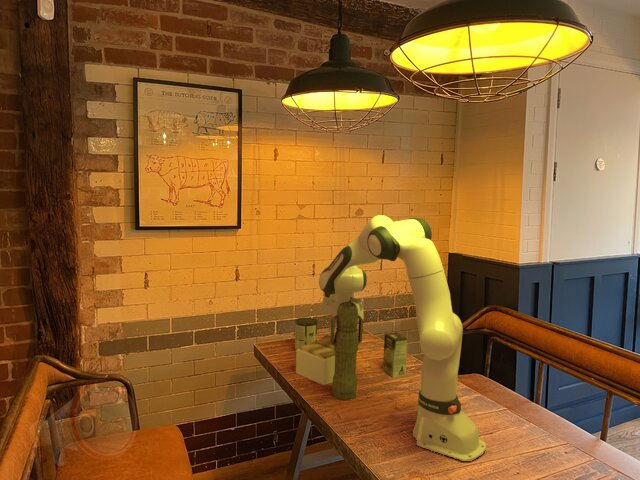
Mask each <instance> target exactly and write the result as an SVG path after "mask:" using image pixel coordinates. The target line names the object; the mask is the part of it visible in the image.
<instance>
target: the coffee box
mask: <svg viewBox="0 0 640 480" xmlns="http://www.w3.org/2000/svg"><path fill="white" fill-rule="evenodd" d="M383 342H384V343H383V362H382V370H383V371H384V372H385V373H387V374H388V376H391V378H394V379H395V378H399V377H405V376H406V374H407V361H408V360H407V358H408V357H407V356H408V342H409V339H408V338H407V337H405V336H404V335H402V334H401V333H400V332H398V331H396V332H388V333H387V332H385V333H384V341H383Z"/></svg>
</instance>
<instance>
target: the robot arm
mask: <svg viewBox="0 0 640 480" xmlns="http://www.w3.org/2000/svg"><path fill="white" fill-rule="evenodd" d="M432 235H433V234H432V229H431V226H430V225H429V222H427V221H426V220H425V219H424V218H421V217H410V218H407V219H403V220H396V221H393V220H392V219H391V218H390V217H388V216H386V215H384V214H383V215H382V214H378V215H375V216H373V217H372V218H371V219H370V220H369V221H367V223H366V225H364V227H363V229H362V230H361V232H360V234H359V235H358V236H357V238H356V239H354V240H353V241H352V242H351V243H350V244H348V245H346V246H345V247H343V248H342V249H341V250H340V251H339V252H338V254H337V255H336V256H335V258H334V259H333V260H332V261H331V262H330V264H329V265H328V267H326V268H324V269H323V270H322V272H320V274H319V278H318V284H319V288H320V290H321V291H322V292H323V293H322V296H323V298H322V301H321V302H322V308H321V310H322V312H323V314H327V315H331V316H333V317H334V316H335V315H337V310H338V307H339V304H341V303H343V302H351V303H354V304H355V305H356V307H357V311H358V315H359V316H360V317H361V318H362V319H363V320H364V319H365V315H364V314H365V312H364V303H363V301H361V299H360V298H355V293H360V292H362V291H364V289H365V288H366V287H367V282H368V279H367V278H368V277H367V274H366V272H365V271H364V270H363V269H362V268H359V267H358V266H360V265H366V264H367V265H368V264H373V263H376V262H378V261H379V260H387V261H390V262H396V261H397V259H398V258H399V259H400V260H402V262H403V263H404V266H405V270H406V275H407V279H408V282H409V286H410V291H411V293H412V297H413V302H414V306H415V315H416V316H415V317H416V323H417V328H418V336H419V347H420V350H421V351H422V353H423V359H422V365H421V374H420V386H419V387H420V390H419V391H418V397H417V404H418V411H417V415H416V416H417V417H416V421H415V423H414V427H413V429H412V432H413V433H412V437H413V438H414V437H415V438H416V439H415V438H414V439H415V441H416V440H417V441H416V442H417V443H416V446H417V445H418V446H421V447H424V448H426V449H430V450H432V451H435V452H438V453H441V454H444V455H448V456H451V457H455V458H458V459H460V460H463V461H468V460H472V459H475V458H477V457H478V456H480V455H481V454H482V453H483V452H484V451H485V449H486V450H487V443H486V442H485V441H484V440H482V439H480V434H479V429H478V426H477V425H476V424H475V422H473V421H472V420H471V418H470V417H469V416H468V414H466V412H464V410H463V409H462V406H464V403H465V400H461V401H460V400H459V397H458V395H457V391H458V377H459V367H460V359H461V351H462V342H463V331H464V329H463V323H462V320H461V319H460V317H459V316H458V315H457V314H455V312H453V307H452V300H451V292H450V289H449V285H448V281H447V277H446V273H445V269H444V265H443V263H442V259H441V257H440V254H439V251H438V250H437V248H436V246H435V243H434V242H433V241H432ZM335 321H337V319H336V320H335ZM357 324H359V318H358V322H357ZM418 446H417V447H418ZM426 449H425V450H426ZM432 451H431V452H432ZM435 452H434V453H435ZM485 452H486V451H485ZM438 453H437V454H438ZM441 454H440V455H441ZM444 455H443V456H444ZM470 457H471V458H470Z"/></svg>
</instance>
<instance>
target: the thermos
mask: <svg viewBox="0 0 640 480" xmlns="http://www.w3.org/2000/svg"><path fill="white" fill-rule="evenodd" d="M358 318H359V322H358ZM336 319H337V320H336ZM335 322H336V324H335ZM357 322H358V323H357ZM335 325H336V329H335ZM363 325H364V319H362V318H361V317H360V316H359V315H358V311H357V307H356V305H355V304H354V303H351V302H343V303H341V304H339V307H338V310H337V315H335V316H333V317H332V318H331V320H330V336H331V344H332V345H334V350H335V373H334V376H333V382H332V396H334V397H335V398H334V397H333V398H334V399H336V398H337V399H336V400H339V399H340V400H339V401H352V400H354V399H355V398H357V397H356V396H357V390H358V389H357V387H358V386H357V385H358V379H357V375H356V374H357V353H358V350H359V345H360V344H361V343H362V341H363V327H364V326H363ZM351 399H352V400H351Z"/></svg>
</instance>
